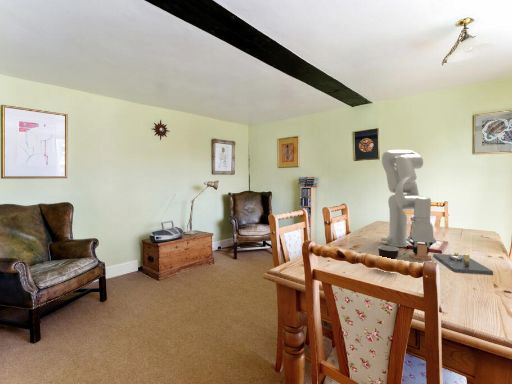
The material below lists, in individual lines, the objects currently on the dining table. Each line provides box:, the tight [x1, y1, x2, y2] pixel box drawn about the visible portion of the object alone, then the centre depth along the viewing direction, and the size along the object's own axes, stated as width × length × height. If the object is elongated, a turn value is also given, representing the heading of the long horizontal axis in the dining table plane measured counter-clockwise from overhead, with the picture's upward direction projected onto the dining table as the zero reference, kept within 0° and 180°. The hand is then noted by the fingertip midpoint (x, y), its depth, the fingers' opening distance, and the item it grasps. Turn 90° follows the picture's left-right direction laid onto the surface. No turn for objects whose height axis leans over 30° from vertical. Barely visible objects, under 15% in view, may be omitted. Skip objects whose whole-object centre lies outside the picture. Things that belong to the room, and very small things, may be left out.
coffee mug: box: [377, 245, 400, 260], centre depth 127 cm, size 12×9×10 cm
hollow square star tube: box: [409, 242, 432, 261], centre depth 143 cm, size 10×10×7 cm
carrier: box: [432, 252, 494, 276], centre depth 131 cm, size 15×23×7 cm, turn 167°
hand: (420, 253), depth 143 cm, fingers closed on hollow square star tube, 4 cm apart
